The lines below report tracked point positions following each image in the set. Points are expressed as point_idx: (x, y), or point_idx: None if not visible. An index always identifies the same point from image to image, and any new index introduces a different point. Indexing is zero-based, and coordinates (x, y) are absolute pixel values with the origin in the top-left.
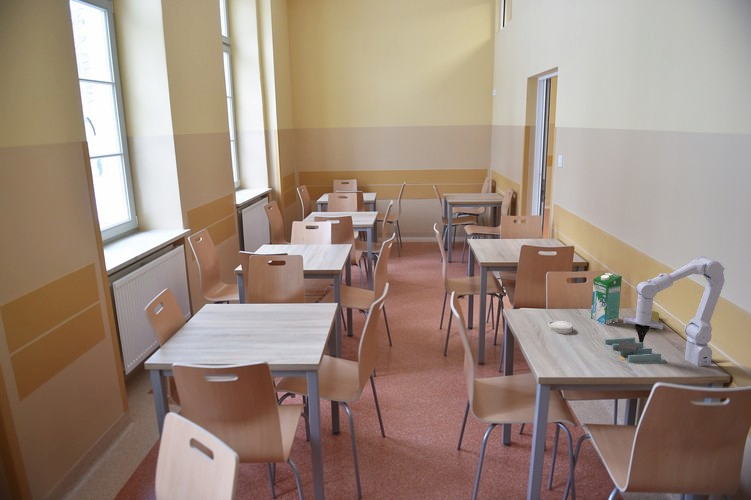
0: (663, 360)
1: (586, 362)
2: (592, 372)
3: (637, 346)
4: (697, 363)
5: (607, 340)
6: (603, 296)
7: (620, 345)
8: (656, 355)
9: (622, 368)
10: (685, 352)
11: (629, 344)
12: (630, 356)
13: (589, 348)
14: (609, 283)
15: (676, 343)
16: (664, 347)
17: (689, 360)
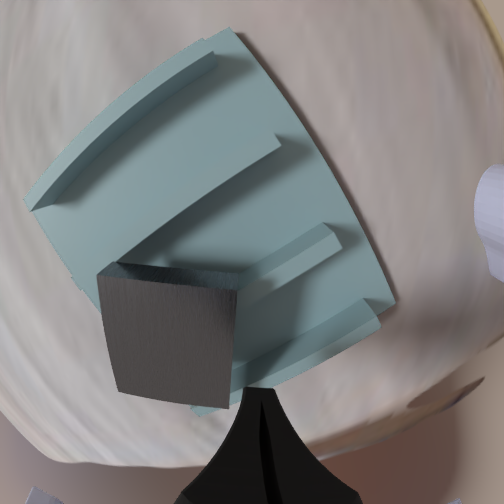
0: (380, 310)
1: (69, 403)
2: (116, 454)
3: (231, 360)
4: (496, 277)
5: (38, 203)
6: None
7: (123, 374)
8: (351, 341)
9: (188, 426)
10: (496, 210)
11: (170, 341)
12: (204, 414)
13: (16, 262)
14: None
15: (438, 3)
16: (399, 58)
17: (484, 240)
